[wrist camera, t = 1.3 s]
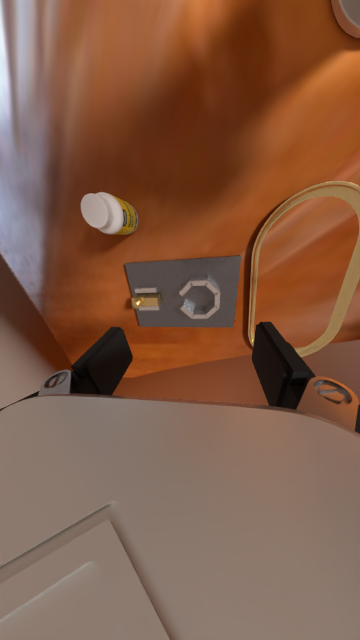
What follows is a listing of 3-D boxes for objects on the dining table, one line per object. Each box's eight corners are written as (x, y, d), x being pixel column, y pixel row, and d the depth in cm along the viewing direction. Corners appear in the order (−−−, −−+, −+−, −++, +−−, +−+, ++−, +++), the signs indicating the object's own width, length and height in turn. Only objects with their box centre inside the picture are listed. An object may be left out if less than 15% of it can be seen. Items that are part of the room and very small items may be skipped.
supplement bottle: (143, 231, 30) (118, 229, 21) (119, 237, 31) (87, 238, 23) (133, 197, 27) (101, 180, 19) (108, 206, 29) (67, 193, 20)
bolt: (135, 294, 35) (127, 301, 32) (159, 294, 34) (154, 300, 31) (137, 302, 36) (130, 309, 33) (161, 302, 35) (156, 309, 32)
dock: (126, 262, 33) (118, 265, 30) (239, 255, 29) (244, 257, 26) (141, 324, 41) (136, 331, 38) (232, 325, 37) (235, 333, 34)
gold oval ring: (245, 356, 42) (246, 360, 40) (251, 200, 25) (254, 198, 24) (324, 354, 38) (328, 358, 36) (391, 168, 22) (404, 163, 20)
